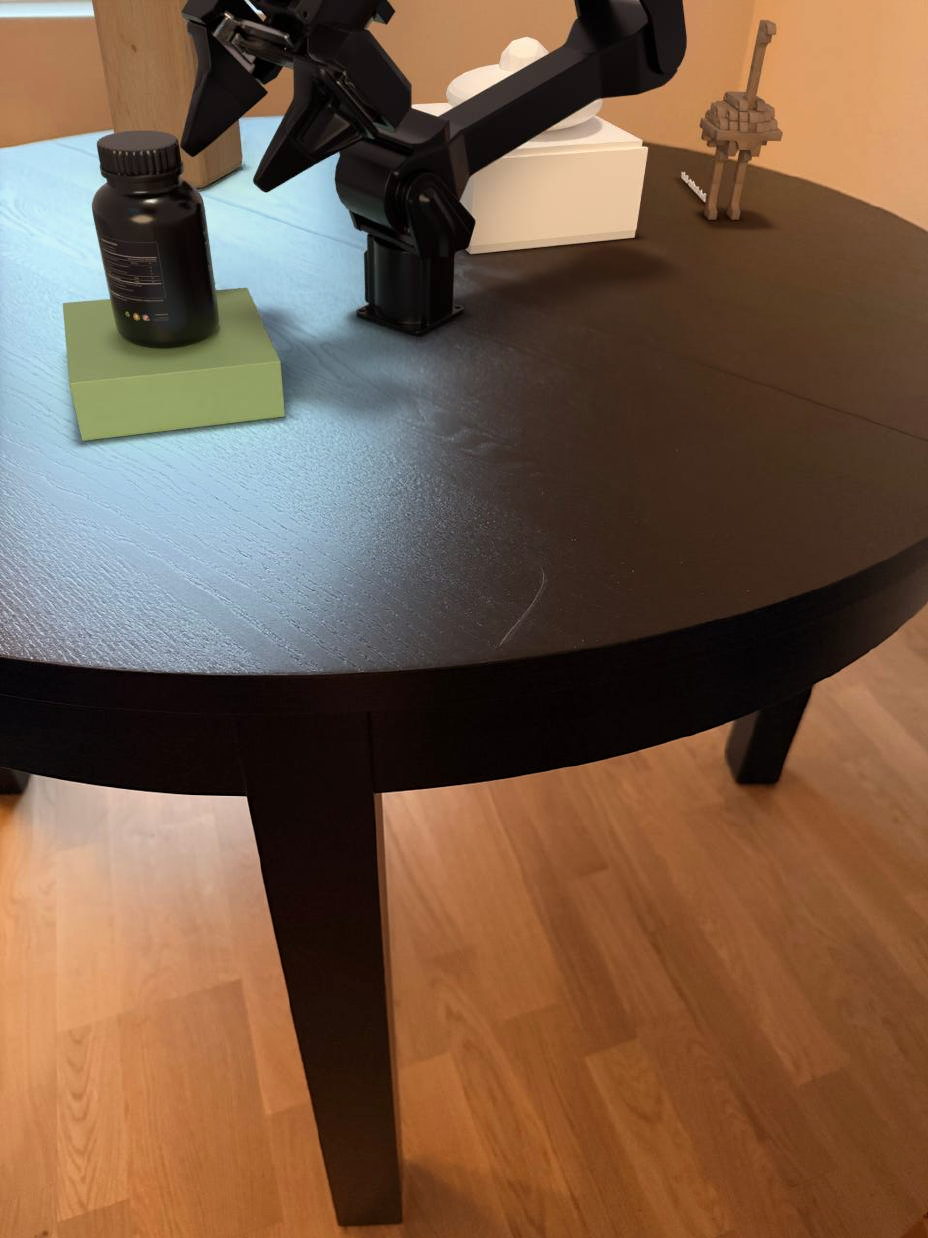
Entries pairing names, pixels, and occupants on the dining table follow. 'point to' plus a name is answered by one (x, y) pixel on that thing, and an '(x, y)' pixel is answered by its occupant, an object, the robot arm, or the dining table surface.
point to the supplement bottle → (154, 242)
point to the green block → (171, 373)
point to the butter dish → (550, 173)
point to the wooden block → (157, 79)
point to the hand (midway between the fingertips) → (221, 169)
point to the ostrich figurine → (738, 130)
